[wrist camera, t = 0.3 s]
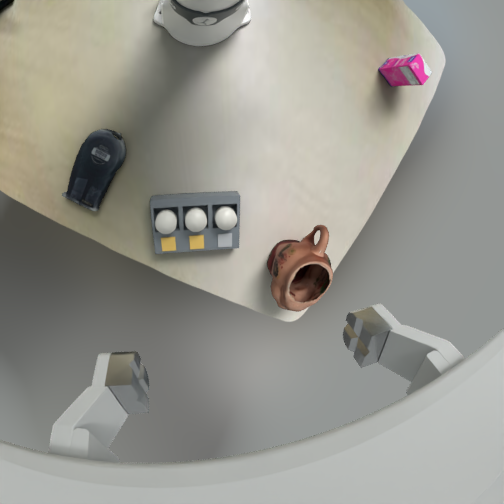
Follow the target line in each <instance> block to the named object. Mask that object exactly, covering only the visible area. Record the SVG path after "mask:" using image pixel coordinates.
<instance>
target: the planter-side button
mask: <svg viewBox="0 0 504 504" xmlns="http://www.w3.org/2000/svg"><path fill="white" fill-rule="evenodd" d="M214 218H215V221H216V224H217V226H218V227H219V228H220V229H222V230H230V229H232V228H233V227H234V226H235V225H236V223H237V216H236V214H235V212H234V210H233V209H232V208H231V207H229V206H222V207H219V208H218V209H217V210H216V212H215V215H214Z"/></svg>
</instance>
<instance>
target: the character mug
mask: <svg viewBox="0 0 504 504" xmlns="http://www.w3.org/2000/svg"><path fill="white" fill-rule="evenodd" d="M318 230H320V233H321V234H320V239H319V241H318V243H317V244H316V245H315V244H314V235H315V233H316V232H317V231H318ZM328 239H329V232H328V230H327V228H326V227H325V226H324V225H317V226H315V227H314V230H313V231H312V232H311V233H310V234H308V235H307V236H306V237H305V238H303V240H302V241H301V242H299V241H297V240H283V241H280V242H279V243H277V244H276V246H275V247H274V248H273V250H272V251H271V254H270V256H269V259H268V262H267V266H268V269H269V271H270V273H271V275H272V276H273V279H272V283H271V292H272V296H273V297H274V299H275V300H276V301H277V304H278V306H279V307H280V308H283V309H287V310H292V311H301V310H304V309H305V308H307V307H309V306H311V305H313V304H315V303H316V302H317V301H318V300H319V299H320V298H321V297H322V296H323V294H324V293H325V292H326V291H327V289H328V288H329V286H330V284H331V282H332V277H333V271H332V269H331V263H330V260H329V257H328V256H327V254H325V253H324V252H325V250H326V247H327V244H328Z"/></svg>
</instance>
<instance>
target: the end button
mask: <svg viewBox="0 0 504 504" xmlns="http://www.w3.org/2000/svg"><path fill="white" fill-rule="evenodd" d="M176 225H177V216H176V214H175V213H174V212H173V211H172V210H169V209H164V210H162V211H160V212H159V213H158V215H157V217H156V221H155V226H156V229H157V230H158V231H159V232H160V233H162V234H169V233H172V232H173V231H174V230H175V228H176Z"/></svg>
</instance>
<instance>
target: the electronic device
mask: <svg viewBox="0 0 504 504" xmlns="http://www.w3.org/2000/svg"><path fill="white" fill-rule="evenodd" d="M113 135H115V136H116V137H117V138H118V139H119V140H118V139H116V138H115V137H114V136H113ZM125 155H126V148H125V144H124V141H123V139H122V137H121V133H117V132H115V131H112V130H108V129H101V130H97V131H95V132H93V133H91V134H90V135H89V136H88V138H87V139H86V140H85V142H84V143H83V144H82V146H81V148H80V150H79V153H78V155H77V157H76V160H75V163H74V166H73V169H72V173H71V176H70V181H69V185H68V191H67V192H64V193H62V196H63V197H65V198H67V199H69V200H71V201H73V202H75V203H77V204H79V205H82V206H84V207H85V208H87V209H90V210H92V211H98V210H99V206H100V204H101V202H102V199H103V197H104V195H105V193H106V192H107V189H108V187H109V185H110V183H111V181H112V179H113V177H114V175H115V173H116V171H117V170H118V169H119V168H120V167H121V166H122V164H123V162H124V159H125Z"/></svg>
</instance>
